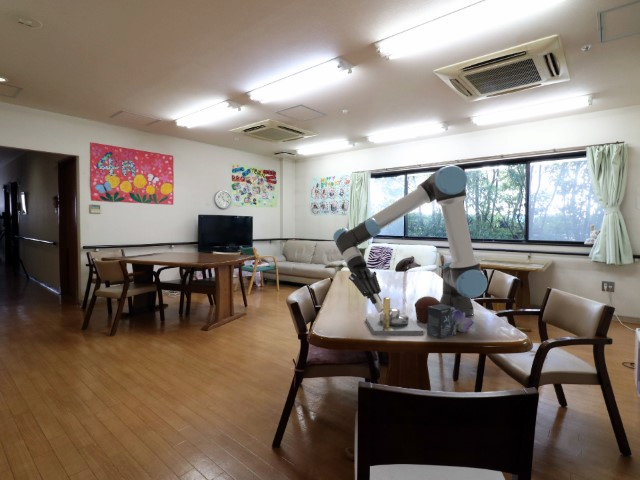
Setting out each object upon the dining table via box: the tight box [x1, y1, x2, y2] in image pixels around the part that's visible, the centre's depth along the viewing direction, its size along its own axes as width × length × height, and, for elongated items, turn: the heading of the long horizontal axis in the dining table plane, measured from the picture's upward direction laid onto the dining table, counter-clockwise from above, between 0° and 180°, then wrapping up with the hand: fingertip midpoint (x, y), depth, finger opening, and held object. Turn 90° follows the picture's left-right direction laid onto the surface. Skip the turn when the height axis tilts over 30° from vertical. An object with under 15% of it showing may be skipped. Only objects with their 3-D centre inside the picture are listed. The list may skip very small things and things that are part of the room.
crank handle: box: [379, 297, 409, 329], centre depth 125 cm, size 16×11×11 cm
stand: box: [365, 316, 424, 336], centre depth 127 cm, size 18×17×2 cm
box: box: [426, 304, 454, 340], centre depth 118 cm, size 8×6×11 cm
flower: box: [453, 308, 474, 336], centre depth 121 cm, size 9×9×10 cm
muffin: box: [414, 295, 441, 325], centre depth 135 cm, size 12×11×10 cm
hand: (381, 310), depth 121 cm, fingers closed
